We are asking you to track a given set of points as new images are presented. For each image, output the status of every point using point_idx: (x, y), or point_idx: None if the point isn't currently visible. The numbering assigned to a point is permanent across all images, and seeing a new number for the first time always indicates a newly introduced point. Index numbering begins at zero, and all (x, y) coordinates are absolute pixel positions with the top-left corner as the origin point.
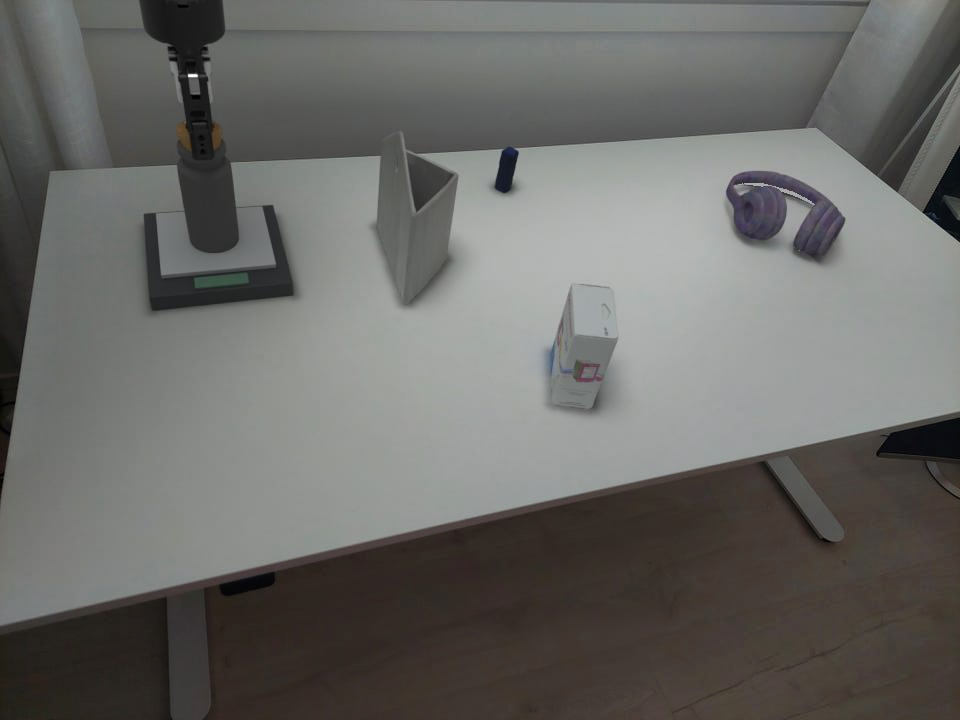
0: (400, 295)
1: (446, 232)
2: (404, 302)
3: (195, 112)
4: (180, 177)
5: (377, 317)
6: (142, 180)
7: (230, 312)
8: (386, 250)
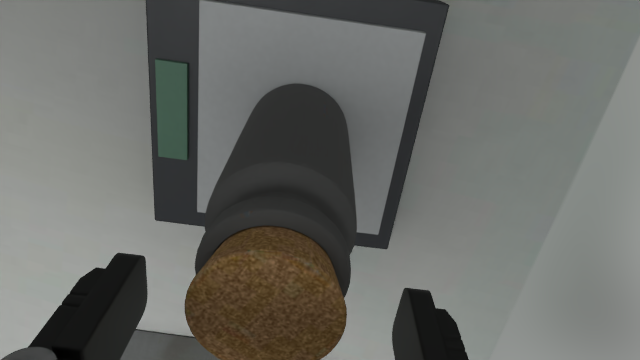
0: (136, 333)
1: None
2: None
3: (403, 323)
4: (259, 154)
5: None
6: (621, 25)
7: (138, 99)
8: None
